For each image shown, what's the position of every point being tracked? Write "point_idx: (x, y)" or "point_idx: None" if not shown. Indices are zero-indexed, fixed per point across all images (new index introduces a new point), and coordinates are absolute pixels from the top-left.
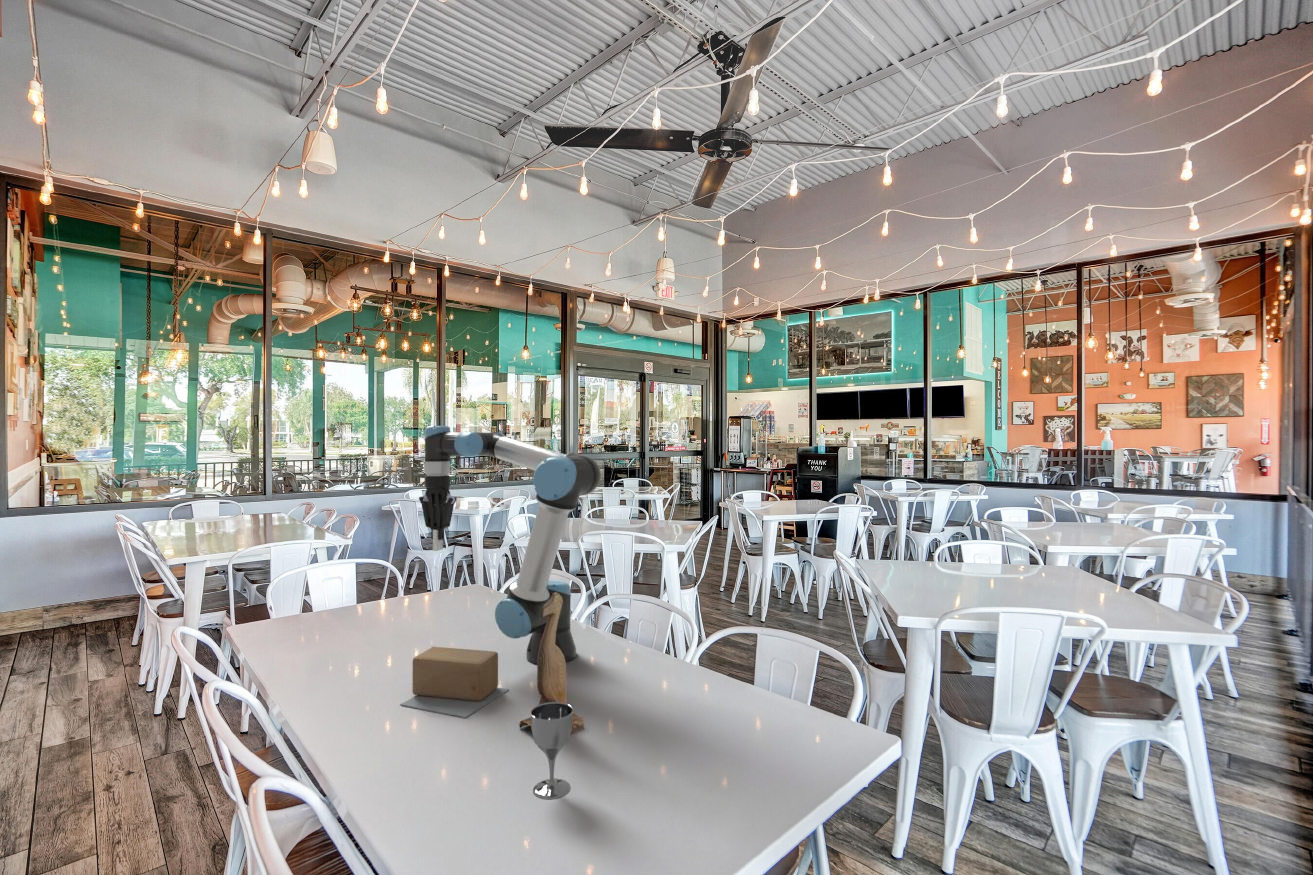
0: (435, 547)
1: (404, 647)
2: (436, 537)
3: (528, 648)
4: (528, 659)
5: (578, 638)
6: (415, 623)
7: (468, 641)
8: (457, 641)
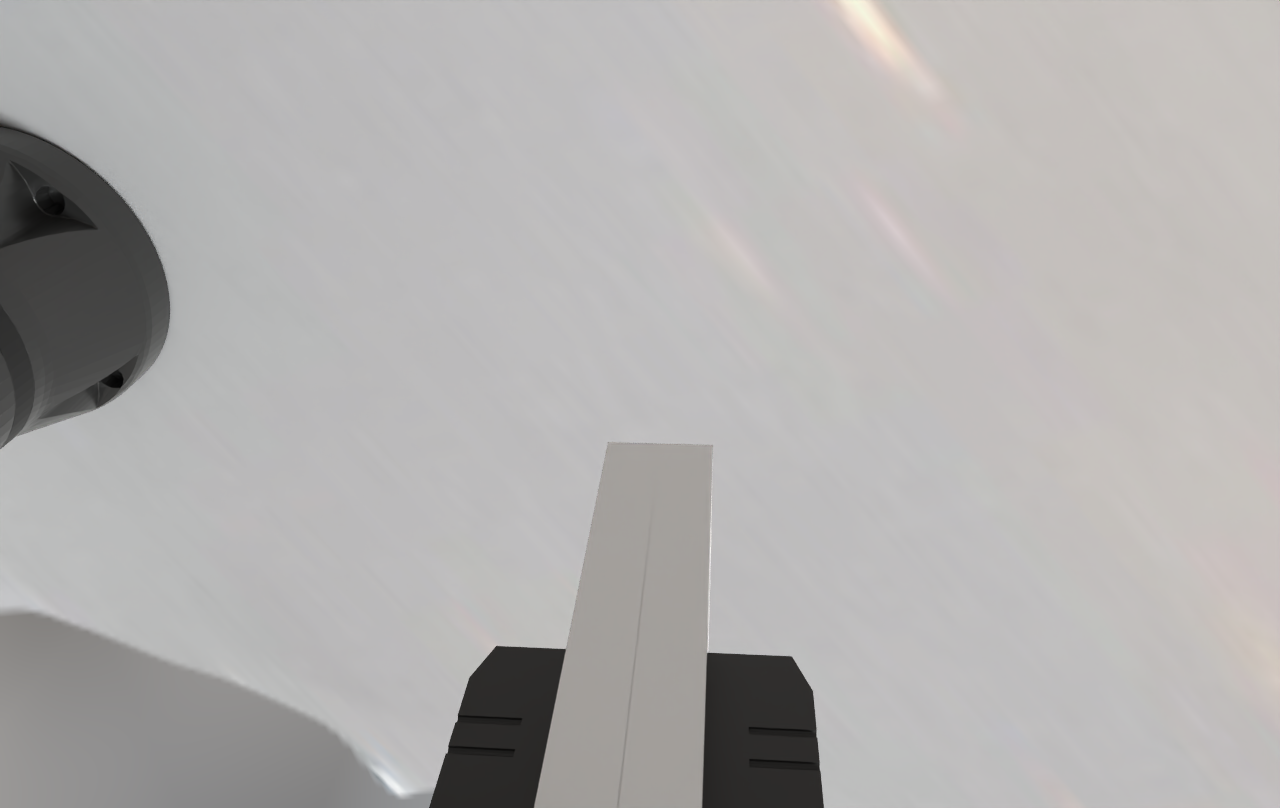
0: (632, 483)
1: (1025, 67)
2: (571, 656)
3: (80, 222)
4: (59, 153)
5: (139, 552)
6: (1254, 505)
7: (665, 326)
8: (734, 303)
